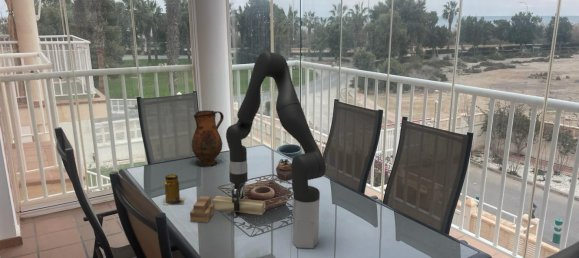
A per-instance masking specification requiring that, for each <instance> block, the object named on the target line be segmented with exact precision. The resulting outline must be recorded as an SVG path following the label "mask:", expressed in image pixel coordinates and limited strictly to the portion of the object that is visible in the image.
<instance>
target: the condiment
mask: <svg viewBox="0 0 579 258" xmlns="http://www.w3.org/2000/svg"><path fill="white" fill-rule="evenodd" d="M178 177H179V176H178V175H177V174H173V173H172V174H171V173H170V174H167V175H165V177H164V178H165V181H164V190H165V191H164V192H165V193H164V195H165V201H164V203H163V205H164V206H165V205H166V206H168V205H184V204H185V201H186V197H181V196H180V182H179V178H178Z"/></svg>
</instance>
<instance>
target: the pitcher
mask: <svg viewBox="0 0 579 258" xmlns="http://www.w3.org/2000/svg"><path fill="white" fill-rule="evenodd" d="M218 113H219V115H220V117H219V121H218V122H217V123H216V114H218ZM193 118H194V121H195V124H196V128H195V130H194V133H193V136H192V139H191V145H190V146H191V149H192V152H193V154H194V156H195V157H196V158H197V159H198V160H199V162H198V163H197V165H198V166H199V167H202V168H203V167H204V168H205V167H207V168H208V167H213V166H216V165H218V162H217V161H216V159H217V157H218V156H219V155H220V153H221V152H222V149H223V141H222V136H221V134H220V132H219V131H218V129H219V128H220V126H221V124H222V123H223V121H224V113H223V112H221V111H218V110H217V111H214V110H199V111H196V112H195V114H194V115H193Z"/></svg>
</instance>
